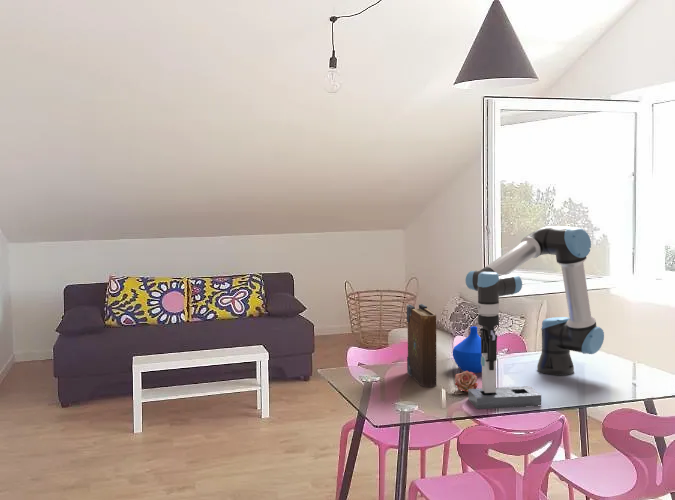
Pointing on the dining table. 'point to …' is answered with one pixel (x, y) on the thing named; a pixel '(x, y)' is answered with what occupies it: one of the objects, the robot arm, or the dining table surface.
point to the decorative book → (421, 345)
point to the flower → (466, 381)
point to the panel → (504, 397)
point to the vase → (469, 352)
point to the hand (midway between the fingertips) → (488, 376)
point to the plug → (487, 384)
